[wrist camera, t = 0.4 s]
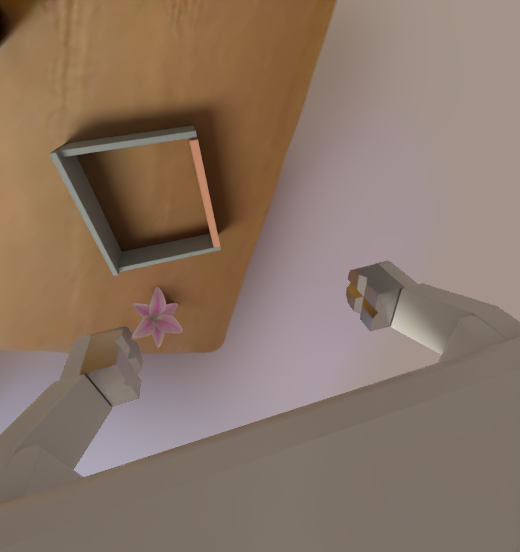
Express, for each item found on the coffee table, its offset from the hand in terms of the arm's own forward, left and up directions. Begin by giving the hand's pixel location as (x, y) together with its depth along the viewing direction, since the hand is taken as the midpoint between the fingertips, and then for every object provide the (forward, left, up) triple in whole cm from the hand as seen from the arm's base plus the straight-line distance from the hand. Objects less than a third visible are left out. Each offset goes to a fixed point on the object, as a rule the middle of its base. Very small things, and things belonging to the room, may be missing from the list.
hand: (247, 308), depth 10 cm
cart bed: (+10, -8, -45) cm, 46 cm away
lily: (+35, -15, -45) cm, 59 cm away
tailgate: (+10, +1, -44) cm, 45 cm away
